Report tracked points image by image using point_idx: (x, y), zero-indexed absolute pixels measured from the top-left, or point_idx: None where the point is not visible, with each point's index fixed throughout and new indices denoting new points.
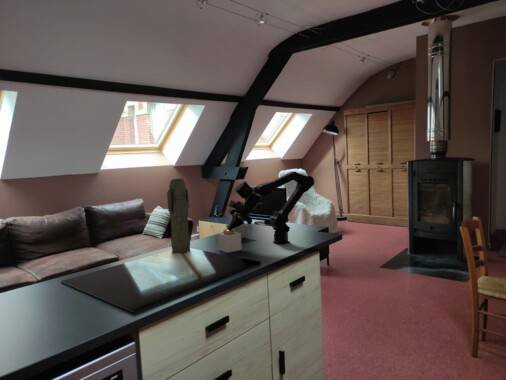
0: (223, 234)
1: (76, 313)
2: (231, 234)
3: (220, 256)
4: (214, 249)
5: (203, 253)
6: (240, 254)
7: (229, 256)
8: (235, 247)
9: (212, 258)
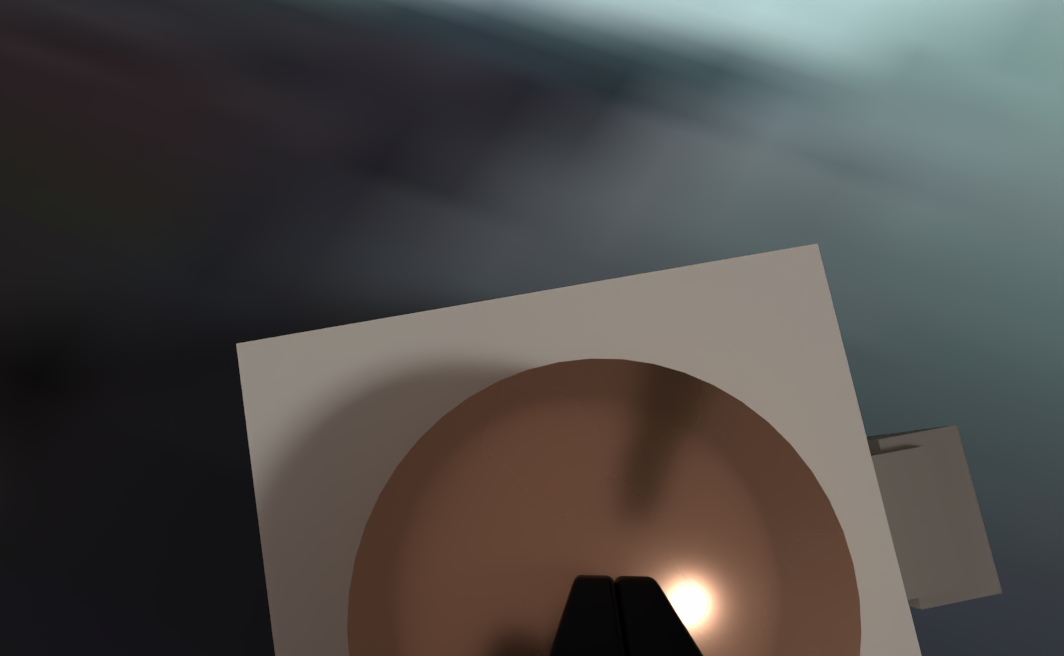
0: (533, 344)
1: None
2: None
3: (163, 193)
4: None
5: (569, 4)
6: (47, 597)
7: (50, 339)
8: None
9: (124, 26)
